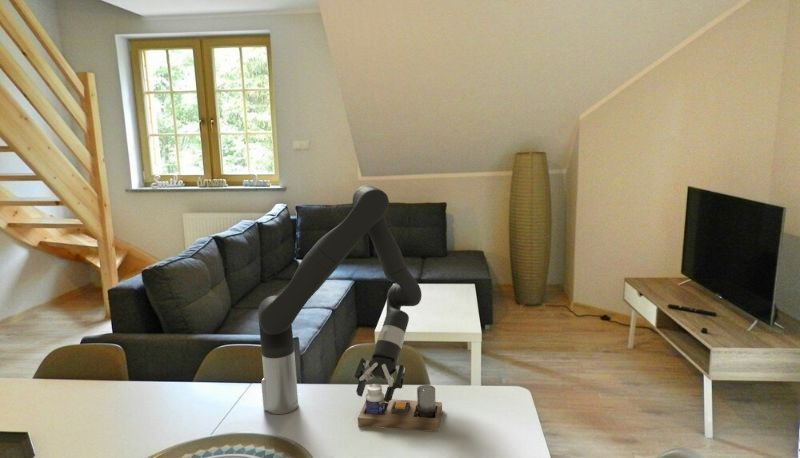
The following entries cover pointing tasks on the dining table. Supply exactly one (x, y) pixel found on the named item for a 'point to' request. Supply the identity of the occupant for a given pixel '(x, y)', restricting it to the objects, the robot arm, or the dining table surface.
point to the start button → (400, 405)
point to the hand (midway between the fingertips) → (372, 398)
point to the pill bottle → (375, 400)
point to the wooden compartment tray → (401, 417)
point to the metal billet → (426, 401)
